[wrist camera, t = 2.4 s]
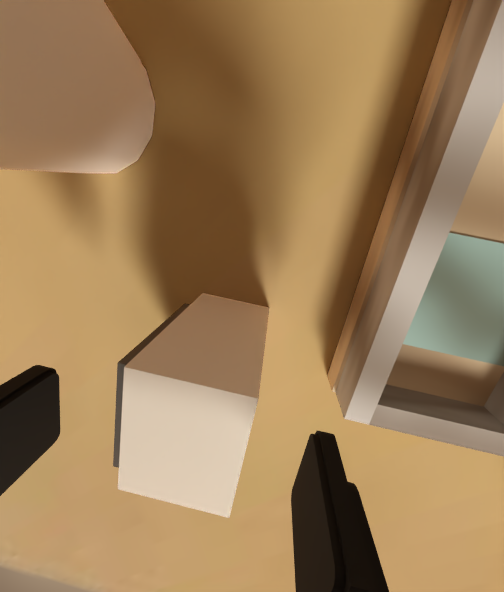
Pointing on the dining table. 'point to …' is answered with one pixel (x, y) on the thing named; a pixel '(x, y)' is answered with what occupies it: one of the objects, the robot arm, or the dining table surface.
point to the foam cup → (70, 89)
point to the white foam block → (190, 404)
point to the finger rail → (438, 257)
